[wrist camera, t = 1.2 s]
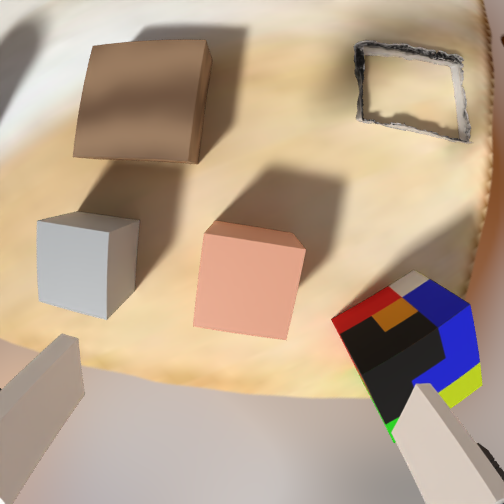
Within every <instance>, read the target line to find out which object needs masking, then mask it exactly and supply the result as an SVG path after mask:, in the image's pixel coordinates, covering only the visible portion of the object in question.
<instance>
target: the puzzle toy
mask: <svg viewBox="0 0 504 504" xmlns="http://www.w3.org/2000/svg"><path fill="white" fill-rule="evenodd" d="M331 320H332V322H333V324H334V326H335V328H336V330H337V332H338V334H339V336H340V338H341V340H342V342H343V344H344V345H345V347H346V349H347V351H348V353H349V355H350V357H351V359H352V361H353V363H354V365H355V367H356V369H357V371H358V373H359V375H360V377H361V379H362V382H363V384H364V386H365V387H366V389H367V391H368V393H369V395H370V397H371V399H372V401H373V403H374V405H375V407H376V409H377V410H378V413H379V414H380V417H381V419H382V420H383V422H384V424H385V426H386V428H387V430H388V432H389V434H390V436H391V438H392V440H393V442H394V443H395V442H396V441H395V439H394V437H393V435H392V433H391V432H392V430H393V429H394V427H395V425H396V423H397V421H398V419H399V417H400V415H401V413H402V411H403V410H404V408H405V406H406V404H407V401H408V399H409V397H410V395H411V393H412V391H413V389H414V387H415V385H416V384H422V383H430V384H431V385H432V386H433V387H434V389H435V390H436V391H437V392H438V394H439V395H440V396H441V398H442V399H443V400H444V401H445V403H446V404H447V405H448V406H449V408H450V409H451V408H452V407H453V406H455V405H456V404H458V403H459V402H461V401H462V400H463V399H465V398H466V397H467V396H469V395H470V394H471V393H473V392H474V391H475V390H477V389H478V388H479V387H480V386H482V376H481V367H480V359H479V351H478V345H477V338H476V332H475V326H474V321H473V316H472V311H471V306H470V304H469V303H468V302H466V301H464V300H463V299H461V298H460V297H458V296H457V295H455V294H453V293H452V292H450V291H449V290H447V289H445V288H444V287H442V286H441V285H439V284H437V283H436V282H434V281H432V280H431V279H429V278H427V277H426V276H424V275H422V274H421V273H419V272H417V271H416V270H413V271H411V272H410V273H408V274H407V275H405V276H403V277H402V278H400V279H399V280H397V281H396V282H394V283H392V284H391V285H389V286H387V287H386V288H384V289H383V290H381V291H379V292H378V293H376V294H374V295H373V296H371V297H369V298H368V299H366V300H364V301H362V302H361V303H359V304H357V305H356V306H354V307H352V308H350V309H349V310H347V311H345V312H343V313H342V314H340V315H338V316H336V317H334V318H333V319H331Z"/></svg>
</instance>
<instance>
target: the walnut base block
mask: <svg viewBox="0 0 504 504" xmlns="http://www.w3.org/2000/svg"><path fill="white" fill-rule="evenodd" d="M211 66H212V57H211V54H210V51H209V48H208V45H207V42H206V40H150V41H135V42H123V43H113V44H104V45H97V46H93V47H92V51H91V55H90V59H89V63H88V68H87V72H86V77H85V81H84V86H83V91H82V97H81V102H80V108H79V114H78V121H77V128H76V135H75V143H74V152H73V157H78V158H89V159H107V160H138V161H158V162H175V163H189V164H198V160H199V151H200V143H201V135H202V127H203V120H204V112H205V105H206V98H207V91H208V85H209V78H210V72H211Z"/></svg>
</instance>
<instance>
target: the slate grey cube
mask: <svg viewBox="0 0 504 504" xmlns="http://www.w3.org/2000/svg"><path fill="white" fill-rule="evenodd" d="M139 225H140V220H134V219H127V218H120V217H113V216H106V215H99V214H92V213H85V212H78V211H77V212H72V213H68V214H63V215H59V216H55V217H51V218H46V219H42V220H38V221H37V278H38V294H39V301H40V302H43V303H46V304H50V305H53V306H57V307H60V308H64V309H67V310H71V311H74V312H78V313H82V314H86V315H89V316H93V317H97V318H101V319H105V320H107V319H108V318H109V317H110V316H111V315H112V314H113V313H114V312H115V311H116V310H117V309H118V308H119V307H120V306H121V305H122V304H123V303H124V302H125V301H126V300H127V299H128V298H129V297H130V295H131V294H132V293H133V292H134V291H135V277H136V261H137V247H138V235H139Z"/></svg>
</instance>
